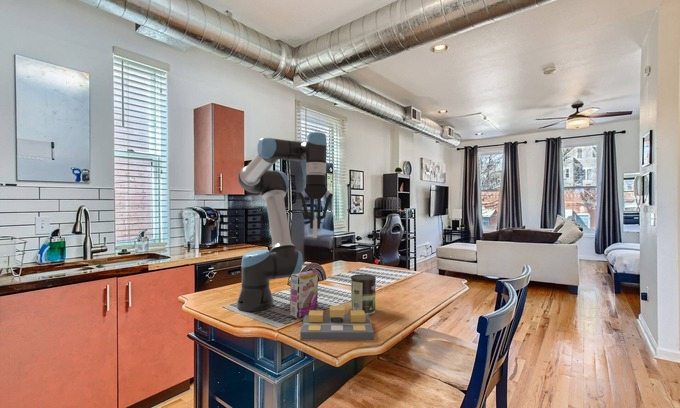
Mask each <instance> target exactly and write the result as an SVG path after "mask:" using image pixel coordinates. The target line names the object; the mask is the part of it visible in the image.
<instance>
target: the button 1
mask: <svg viewBox="0 0 680 408" xmlns="http://www.w3.org/2000/svg"><path fill="white" fill-rule="evenodd" d="M323 315H324V310H318V309H317V310H310V311H309V315H308V322H323Z"/></svg>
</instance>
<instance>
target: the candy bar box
mask: <svg viewBox="0 0 680 408" xmlns="http://www.w3.org/2000/svg"><path fill="white" fill-rule="evenodd" d="M318 285H319V272H318V271H312V270H308V271H303V272H300V273H297V274H292V275H291V277H290V293H289V294H290V295H289V297H290V298H289V300H290V301H289V303H290V304H289V317H292V318H294V319H300V318H304V316H305V315H309V311H310V310H318V296H319V295H318V294H319V293H318V291H319V286H318Z"/></svg>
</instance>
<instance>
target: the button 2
mask: <svg viewBox="0 0 680 408" xmlns="http://www.w3.org/2000/svg"><path fill="white" fill-rule="evenodd" d="M329 315H330V317H333V322H341V317H344V315H345V305H330V306H329Z"/></svg>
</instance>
